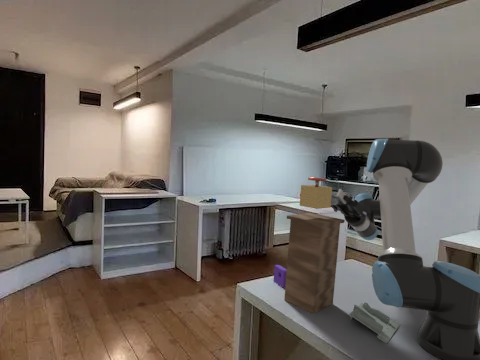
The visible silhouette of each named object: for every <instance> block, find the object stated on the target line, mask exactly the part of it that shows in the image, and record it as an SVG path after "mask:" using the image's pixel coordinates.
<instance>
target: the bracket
mask: <svg viewBox="0 0 480 360" xmlns="http://www.w3.org/2000/svg"><path fill="white" fill-rule="evenodd" d="M273 271H274V272H273V282H275V284H277V285H278V286H280V287H281V288H283V289H285V285H286V273H287V268H285V267H283V266H282V265H280V264H275V265H274V269H273Z"/></svg>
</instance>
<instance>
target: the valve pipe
mask: <svg viewBox="0 0 480 360" xmlns="http://www.w3.org/2000/svg"><path fill="white" fill-rule="evenodd" d="M307 180H308V181H314V184H301V185H300V196H299V206H300V207H305V208H310V209H316V210H320V209H328V208H331V205H338V204H344V203H343V202H342V201H341V200H340V199H339V197H338V196H337V193H338V191H336V192H335V191H334V192H333V187H332V186H326V185H319V184H320V182H327V178H326V177H325V178H324V177H316V176H315V177H314V176H312V177H311V176H308V179H307ZM332 192H333V193H332ZM343 192H344V193H345V194H346V195H347V196H348V197H350V196H351V193H349V192H348V191H343ZM346 204H347V203H346Z"/></svg>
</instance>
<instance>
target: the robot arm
mask: <svg viewBox="0 0 480 360" xmlns="http://www.w3.org/2000/svg"><path fill="white" fill-rule="evenodd" d="M366 160H367V161H366V172H367V173H370V174H371V173H372V175H373V180H374V181H376V183H378V191H379V192H378V194H379V200H378V199H373V196H372V195H371V194H369V193H358V194H357V195H356V196H355V197H354V199H353V197H352V196H351V195H350V197H348V196H347V195H346V194H345V193H344V192H345V191H343V189H342V188H339V189H338V190H337V192H338V193H337V196H338V197H339V199H340V200H341V201H342V202H343V203H344V204H338V205H331V206H330V208H331V209H333V211H334V212H335V213H337V212H340V213H341V214H342V215H343V216H344V220H345V222H347V224H348V225H349V226H350V227H351V228H353V230H354V231H355V232H356V233H357V234H358V235H359V237H360V238H362V239H364V240H366V241H373V240H375V238H377V237H378V233H379V231H378V227H377V226H376V225H375V218H380V221H381V239H382V253H381V254H379V255H378V257H377V260H376V261H375V262H373V264H372V267H371V272H372V273H371V279H372V281H371V282H372V286H373V289H374V293H375V295H376V297H377V299H378V300H379V302H381V303H382V304H384V305H386V306H392V307H396V308H399V309H400V308H406V309H413V310H422V311H427V315H426V317H425V319H424V321H423V323H422V324H421V326H420V328H419V330H418V332H417V342H418V344H419V345H420V347H422V349H424V350H425V351H426V352H428V353H429V354H431V355H432V356H434V357H436V358H438V359H441V360H480V334H479V331H478V330H479V321H480V274H478V272H475V271H474V270H472V269H469V268H466V267H464V266H462V265H458V264H455V263H452V262H451V263H450V262H447V261H443V260H442V261H440V260H437V261H434V262H433V263H432V264H431V265H432V266H424V260H423V257H422V256H421V255H419V254H418V253H417V252H416V244H415V235H414V226H413V216H412V208H411V205H412V204H413V203H414V201H415V200H416V199H417V198H418V197H419V195H420V194H421V193H422V192H423V190H425V188H426V187H427V186H428V184H430V183H433V182H435V181H436V179H437V178H438V177H439V176H440V175H441V172H442V170H443V166H444V165H443V157H442V155H441V152H440V151H439V150H438V149H437V147H436V146H434V145H433V144H431V143H430V142H427V141H425V140H419V139H417V140H412V139H411V140H410V139H409V140H408V139H394V138H393V139H389V138H376V139H374V140H373V141H372V143H371V146H370V148H369V152H368V156H367V159H366ZM332 193H334V192H333V191H332ZM346 203H347V204H346Z"/></svg>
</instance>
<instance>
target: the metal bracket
mask: <svg viewBox="0 0 480 360" xmlns="http://www.w3.org/2000/svg"><path fill="white" fill-rule="evenodd" d="M353 305H354V306H353V310H352V311H351V312H350V313H349V316H350V317H351V318H350V321H351V320H353V319H355V320H356V321H358V322H359V323H361V324H362V325H364V326H366V328H368V329H370V330H371V331H372V332H373V333H376V334H377V336H376V338H377V339H378V340H380V341H381V342H383V343H385V344H386V345H387V344H389V343H390V341H391V340H392V338H393V336H394V334H395V333H396V332H397V330H399V329H400V328H401V326H402V324H401V323H400V322H399V321H397V320H396V319H394V318H390V316H389V315H387V314H386V313H384V312H382V311H380V310H379V309H377V308H374V307H371V305H370V304H369V303H368V302H361V303H360V304H359V305H357V304H353Z"/></svg>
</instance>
